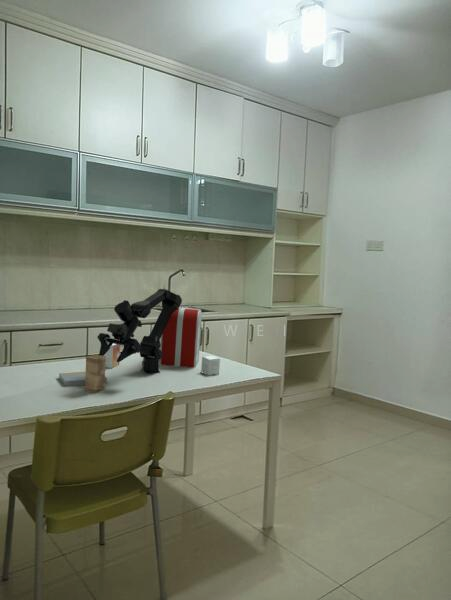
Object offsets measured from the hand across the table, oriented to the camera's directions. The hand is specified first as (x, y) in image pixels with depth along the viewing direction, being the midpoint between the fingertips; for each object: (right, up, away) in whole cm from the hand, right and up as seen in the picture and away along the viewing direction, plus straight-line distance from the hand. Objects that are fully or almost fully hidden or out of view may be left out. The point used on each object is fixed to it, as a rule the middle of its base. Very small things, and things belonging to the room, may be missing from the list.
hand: (108, 359), depth 178 cm
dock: (-12, -9, +6) cm, 16 cm away
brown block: (-4, -11, -5) cm, 13 cm away
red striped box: (+23, -8, +47) cm, 53 cm away
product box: (+39, -10, +31) cm, 51 cm away
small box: (-7, -7, +31) cm, 33 cm away
